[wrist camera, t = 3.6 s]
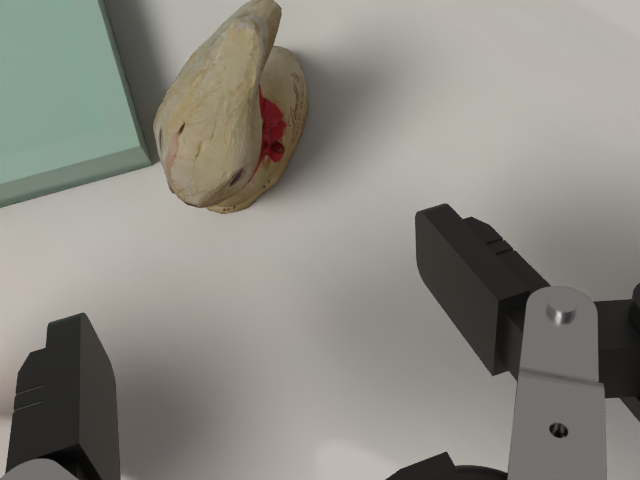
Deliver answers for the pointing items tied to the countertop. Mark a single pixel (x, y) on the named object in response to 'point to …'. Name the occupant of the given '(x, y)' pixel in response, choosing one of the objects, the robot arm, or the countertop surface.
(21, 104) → the tray
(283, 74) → the chocolate bunny
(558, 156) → the countertop surface
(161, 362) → the countertop surface
